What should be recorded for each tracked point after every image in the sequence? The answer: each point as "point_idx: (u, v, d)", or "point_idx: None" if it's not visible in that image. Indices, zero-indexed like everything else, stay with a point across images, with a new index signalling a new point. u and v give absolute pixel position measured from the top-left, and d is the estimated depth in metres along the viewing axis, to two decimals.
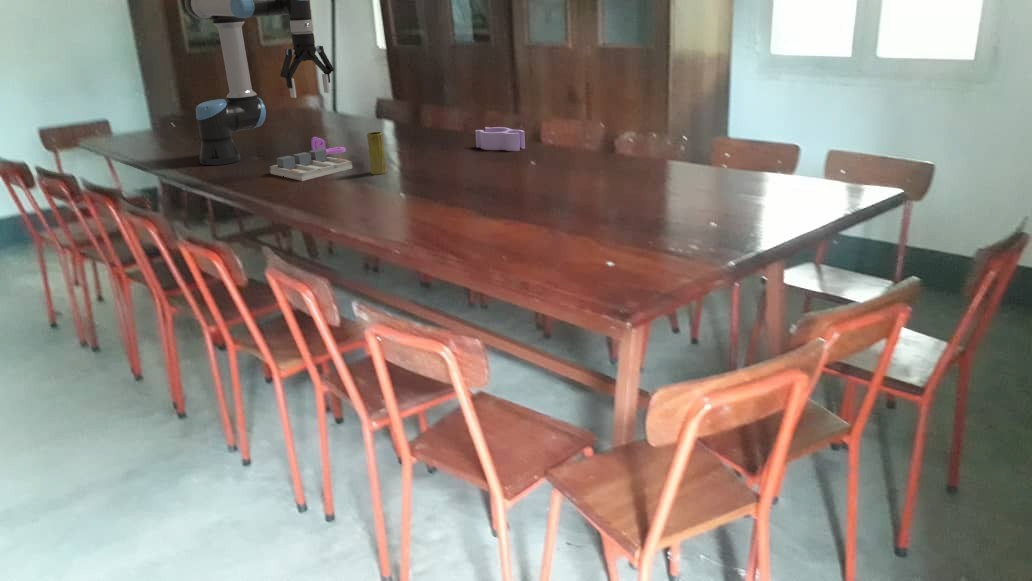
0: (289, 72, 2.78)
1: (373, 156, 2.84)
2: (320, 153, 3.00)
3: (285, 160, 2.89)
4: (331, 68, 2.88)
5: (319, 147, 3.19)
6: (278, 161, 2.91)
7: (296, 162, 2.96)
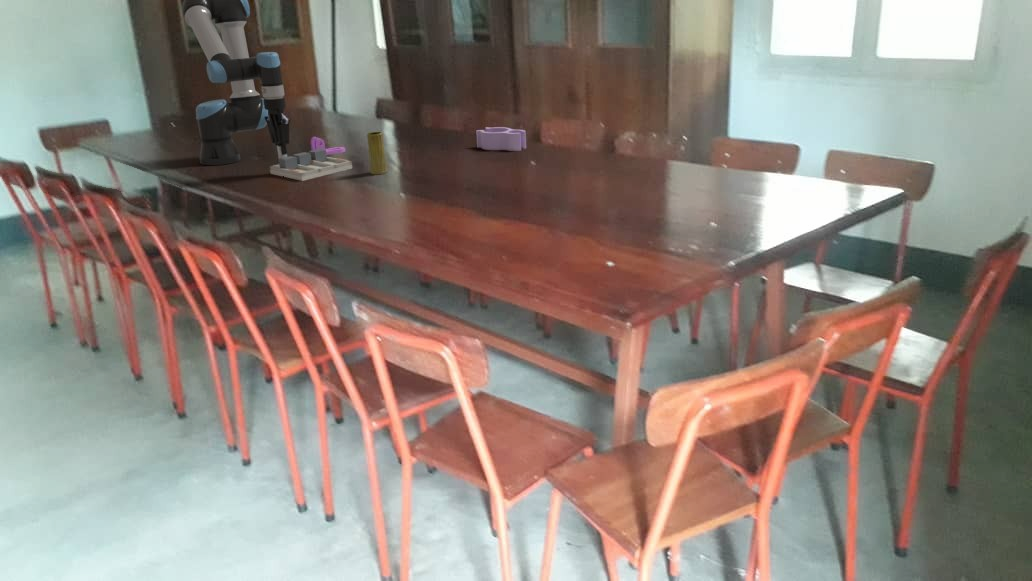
0: None
1: (373, 156, 2.84)
2: (320, 153, 3.00)
3: (287, 160, 2.89)
4: (282, 141, 2.87)
5: (319, 147, 3.19)
6: (280, 161, 2.90)
7: None
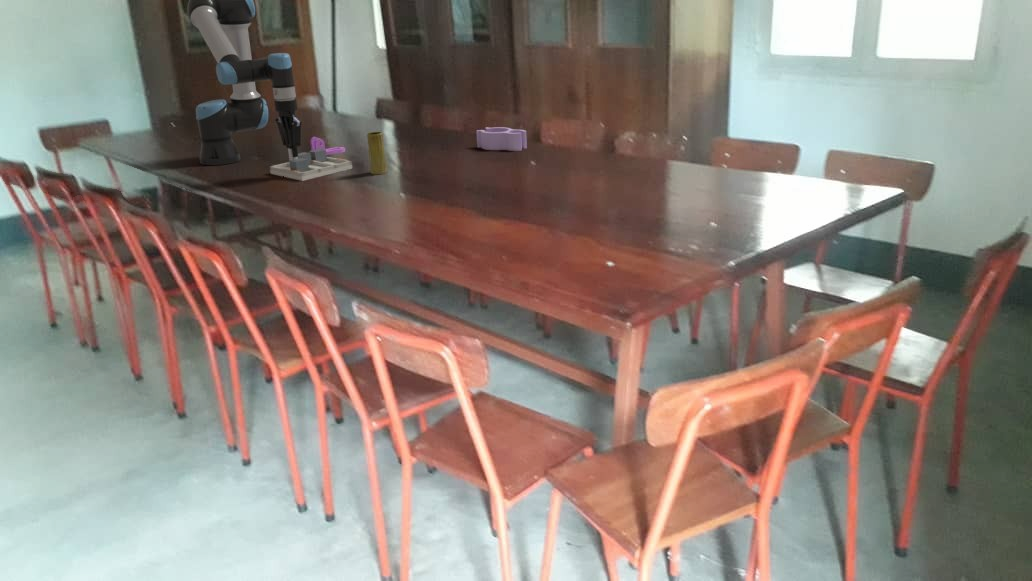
0: None
1: (373, 156, 2.84)
2: (320, 153, 3.00)
3: (298, 163, 2.84)
4: (293, 143, 2.83)
5: (318, 147, 3.19)
6: (291, 164, 2.86)
7: None
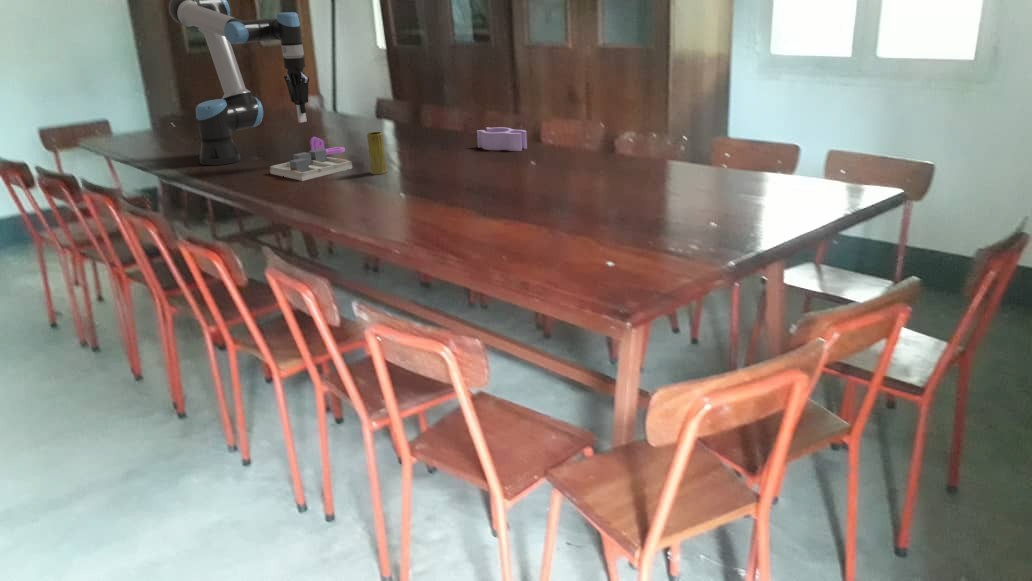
0: None
1: (373, 156, 2.84)
2: (320, 153, 3.00)
3: (298, 163, 2.84)
4: (301, 100, 2.95)
5: (318, 147, 3.19)
6: (291, 164, 2.86)
7: None
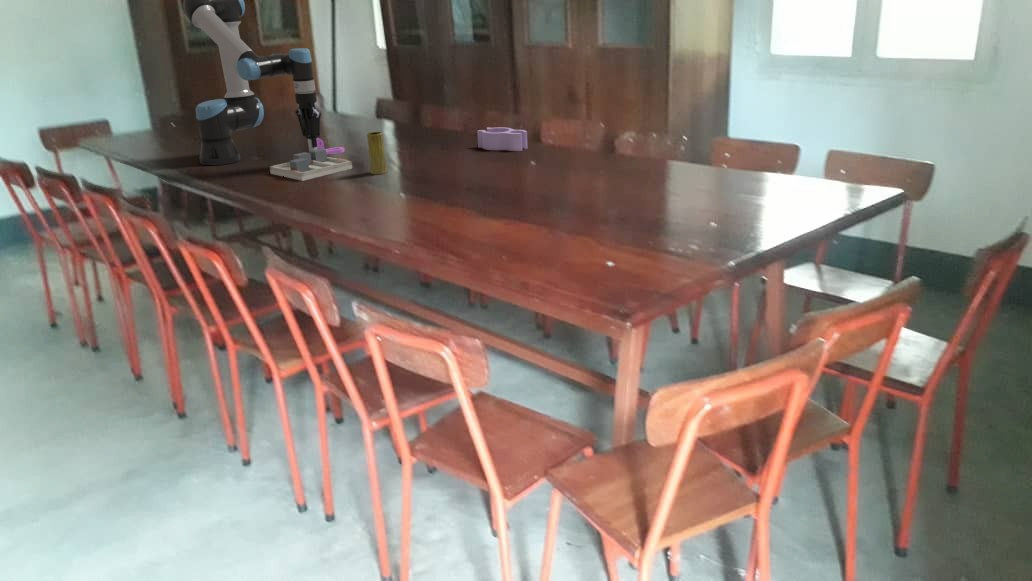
0: None
1: (373, 156, 2.84)
2: (320, 153, 3.00)
3: (298, 163, 2.84)
4: (313, 134, 2.98)
5: (318, 147, 3.18)
6: (291, 164, 2.86)
7: None
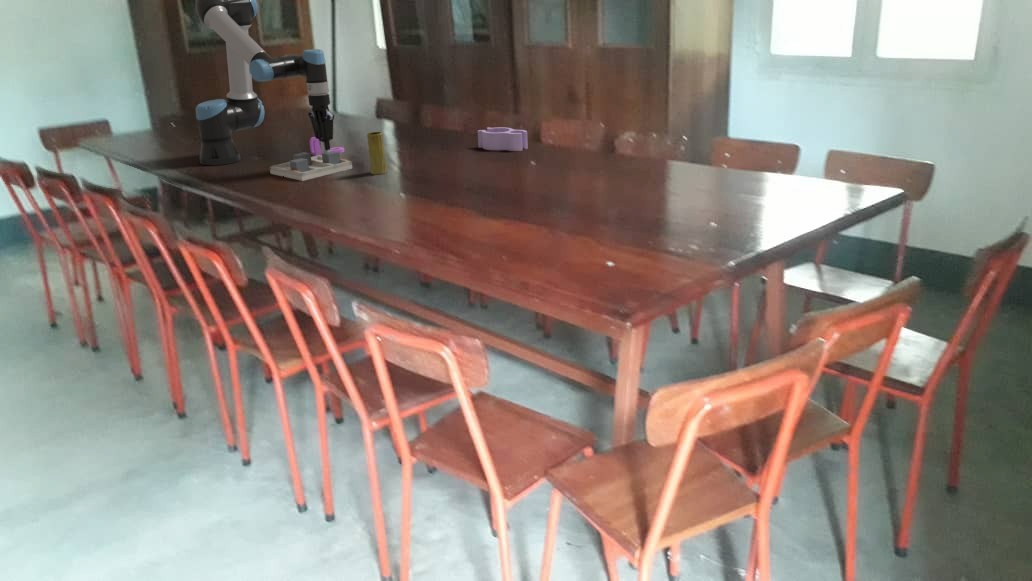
0: None
1: (373, 156, 2.84)
2: (333, 156, 2.95)
3: (298, 163, 2.84)
4: (326, 137, 2.93)
5: (317, 147, 3.18)
6: (291, 164, 2.86)
7: None
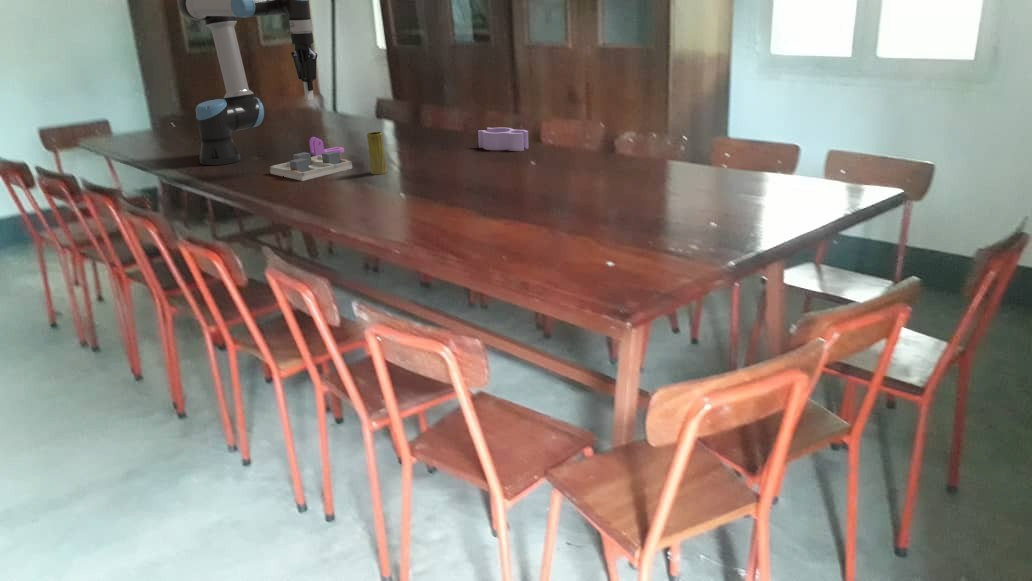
0: None
1: (373, 156, 2.84)
2: (333, 156, 2.95)
3: (298, 163, 2.84)
4: (309, 77, 2.88)
5: (317, 147, 3.18)
6: (291, 164, 2.86)
7: None
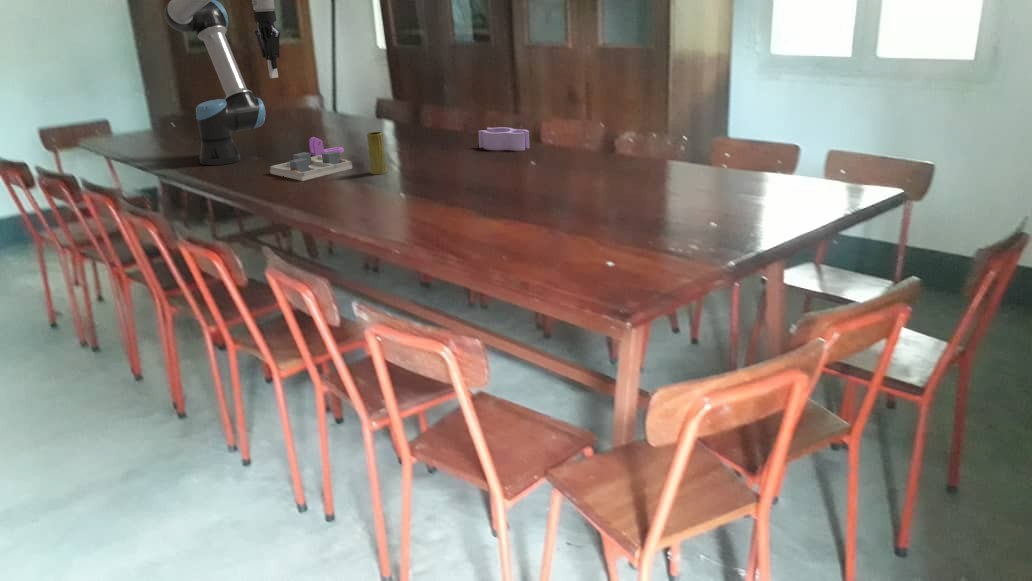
0: None
1: (373, 156, 2.84)
2: (333, 156, 2.95)
3: (298, 163, 2.84)
4: (272, 54, 2.91)
5: (317, 147, 3.18)
6: (291, 164, 2.86)
7: None
